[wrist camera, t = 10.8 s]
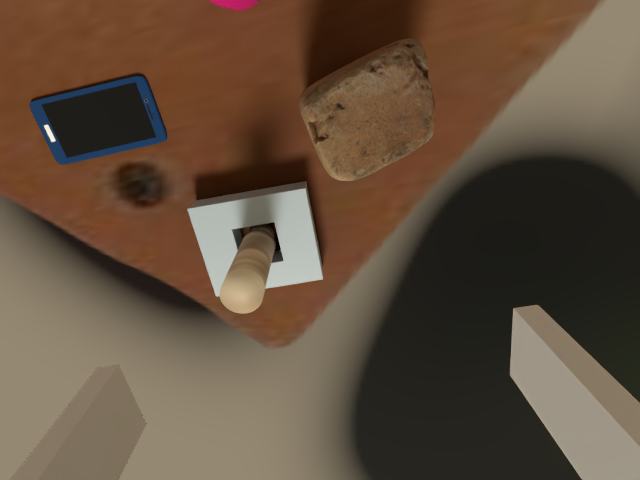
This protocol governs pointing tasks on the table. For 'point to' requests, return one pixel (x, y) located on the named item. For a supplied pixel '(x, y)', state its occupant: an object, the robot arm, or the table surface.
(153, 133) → the cell phone
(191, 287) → the table surface
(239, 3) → the pepper mill
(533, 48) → the table surface
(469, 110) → the table surface
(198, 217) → the board
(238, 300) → the peg
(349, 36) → the table surface
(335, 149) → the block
